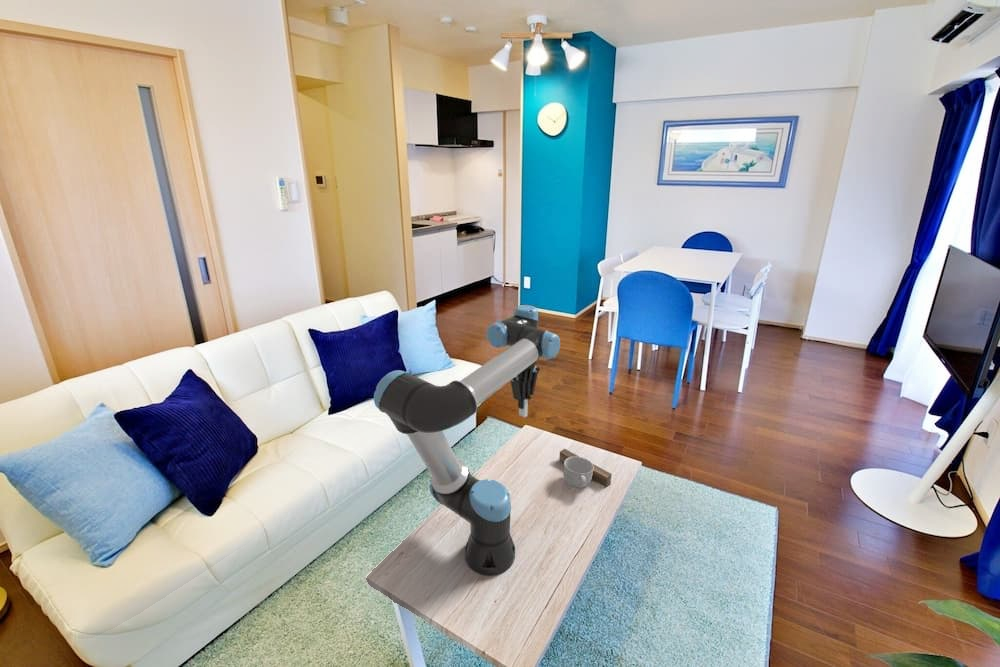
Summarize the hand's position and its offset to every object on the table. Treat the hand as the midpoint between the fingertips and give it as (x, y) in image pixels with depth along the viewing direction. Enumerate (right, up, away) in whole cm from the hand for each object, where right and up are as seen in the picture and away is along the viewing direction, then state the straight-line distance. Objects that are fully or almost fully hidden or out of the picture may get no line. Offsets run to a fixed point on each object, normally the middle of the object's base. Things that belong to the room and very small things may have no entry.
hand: (523, 415), depth 161 cm
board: (+24, -25, +18) cm, 39 cm away
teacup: (+21, -28, +11) cm, 36 cm away
